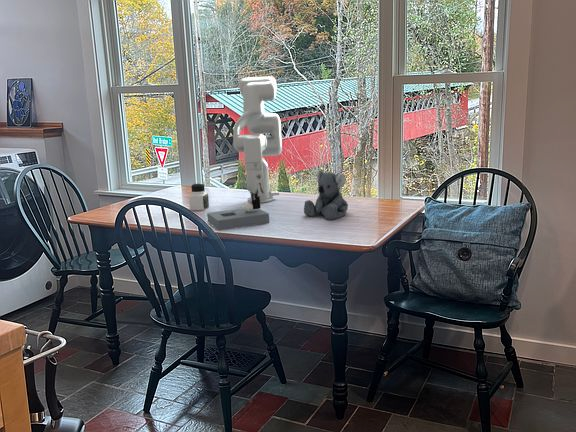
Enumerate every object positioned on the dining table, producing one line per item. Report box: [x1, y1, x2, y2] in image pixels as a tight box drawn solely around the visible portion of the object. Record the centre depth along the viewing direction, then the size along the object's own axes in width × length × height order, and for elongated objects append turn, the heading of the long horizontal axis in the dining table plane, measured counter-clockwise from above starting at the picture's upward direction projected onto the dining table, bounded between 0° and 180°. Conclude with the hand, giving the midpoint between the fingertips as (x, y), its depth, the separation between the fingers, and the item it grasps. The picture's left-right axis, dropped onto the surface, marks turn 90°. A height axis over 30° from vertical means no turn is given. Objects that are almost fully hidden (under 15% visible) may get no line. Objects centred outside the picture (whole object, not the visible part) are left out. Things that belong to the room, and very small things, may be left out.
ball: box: [243, 202, 253, 212], centre depth 243 cm, size 4×4×4 cm
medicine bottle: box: [188, 182, 210, 211], centre depth 271 cm, size 7×7×12 cm
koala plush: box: [303, 169, 349, 221], centre depth 247 cm, size 17×18×20 cm
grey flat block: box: [206, 207, 270, 231], centre depth 242 cm, size 22×16×4 cm
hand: (256, 208), depth 245 cm, fingers closed
